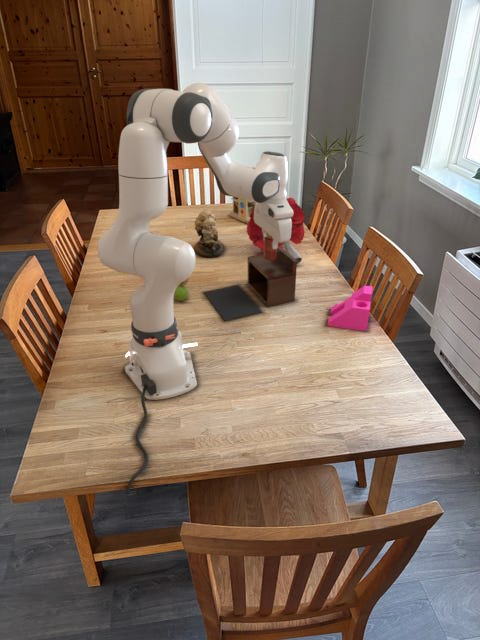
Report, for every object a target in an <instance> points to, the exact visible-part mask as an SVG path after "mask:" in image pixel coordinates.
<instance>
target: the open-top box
mask: <svg viewBox="0 0 480 640" xmlns="http://www.w3.org/2000/svg"><path fill="white" fill-rule="evenodd" d="M297 266H298V264H297V261H296V260H295V259H294V258H293V257H291V256H290V255H289V254H288V253H287V252H285V249H283V248H282V246H281V247H279V246H278V248H277V253H276V259H275V260H266V259H264V253H261V254H255V255H251V256H247V286H248V287H249V288H250V289H251V290H252V291H253V292H254V293H255V294H256V296H257V297H258V298H259V299H260V300H261V301H262V302H263V303H264V304H265V305H266V306H267V307H268V308H269V307H274V306H277V305H282V304H287V303H291V302H295V299H296V298H295V297H296V283H297V269H298V267H297Z"/></svg>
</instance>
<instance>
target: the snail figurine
mask: <svg viewBox="0 0 480 640" xmlns="http://www.w3.org/2000/svg"><path fill="white" fill-rule="evenodd" d="M189 280H190V277H189V278H188V279H187V280H185V281H184V282H182V283H180V284H179V285H178V286H177V288H176V290H175V292H174V298H173V299H175V300H176V301H180V302H181V301H184V300H186V299H187V298H188V297H189V289H188V287H187V286H186V285H188V283H189Z"/></svg>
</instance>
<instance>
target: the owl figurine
mask: <svg viewBox="0 0 480 640" xmlns="http://www.w3.org/2000/svg"><path fill="white" fill-rule="evenodd" d="M215 217H216V216H215V215H214V214H213V213H212V212H211V210H209V209H204V210H202V211H201V212H199V214H198V216H197V217H196V218H195V220H194V229H195V231H196V234H197V236H198V237H199V240H198V241H197V242H196V244H195V246H194V248H195V249H194V251H195V252H196V254H197V255H199V256H200V257H203V258H204V257H205V258H211V257H214V258H215V257H219V256H222V255H223V253H224V251H225V246H224V244H223V242H221V240H220V239H219V231H218V229H217V226H216V225H217V223H216V218H215Z"/></svg>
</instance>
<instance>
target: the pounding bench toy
mask: <svg viewBox="0 0 480 640" xmlns="http://www.w3.org/2000/svg"><path fill="white" fill-rule="evenodd" d="M230 200H232V211H230V212H229V217H231V218H233V219H236V220H238V221H241V222H243V223H245V224H246V225H247V224H248V222H249V220H250V217H249V216H250V214H251V213H252V210H253V208H254V207H255V204H256V203H255V202H252V201H248V200H244V199H240V198H237V197H230Z"/></svg>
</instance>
